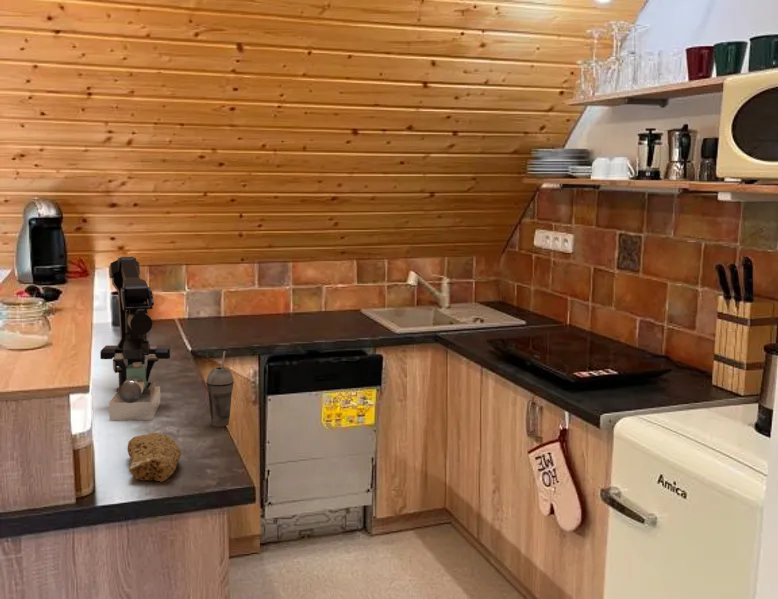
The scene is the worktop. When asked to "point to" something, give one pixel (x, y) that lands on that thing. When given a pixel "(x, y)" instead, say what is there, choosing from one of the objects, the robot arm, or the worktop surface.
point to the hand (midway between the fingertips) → (137, 381)
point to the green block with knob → (137, 371)
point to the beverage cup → (220, 394)
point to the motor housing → (135, 401)
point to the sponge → (153, 456)
